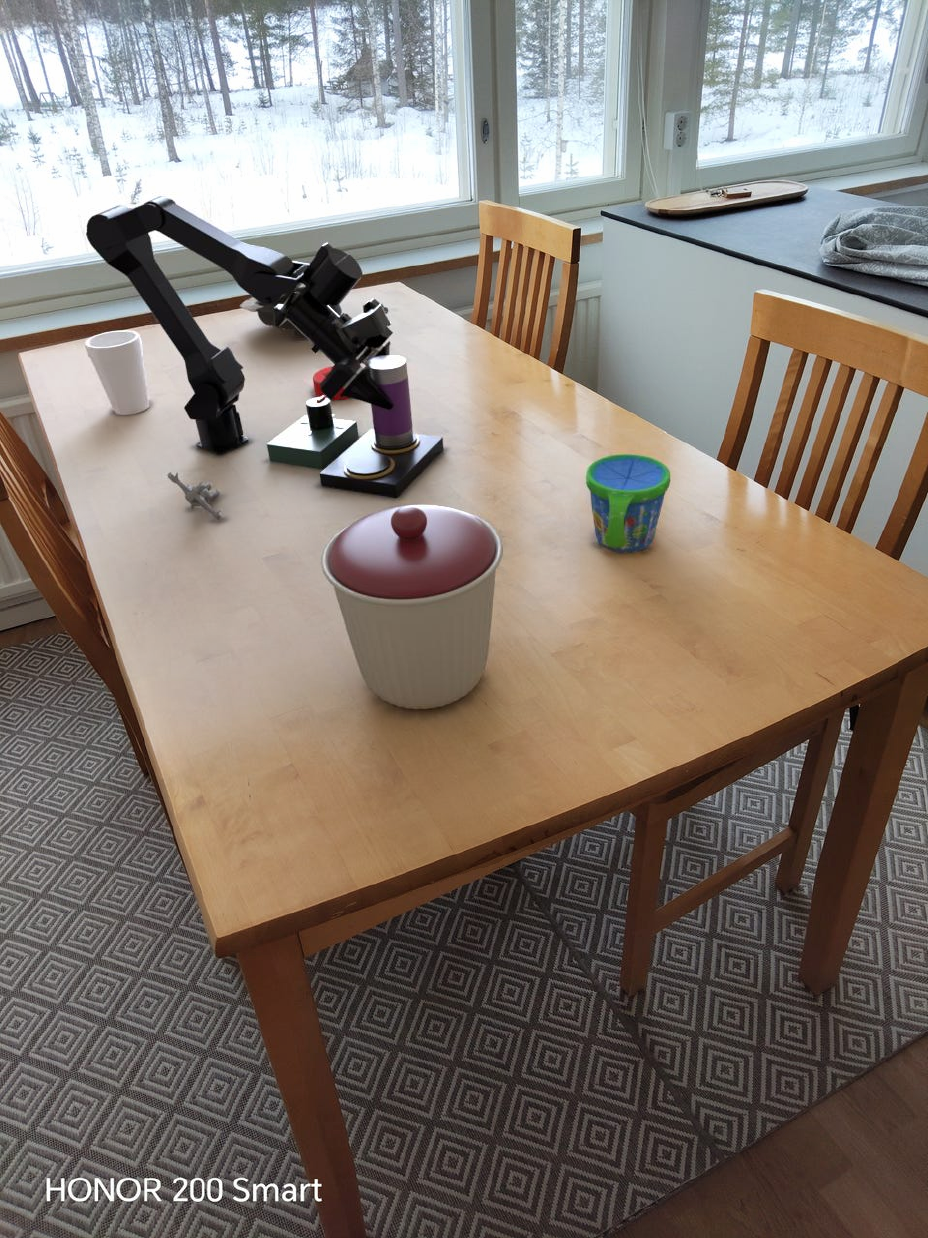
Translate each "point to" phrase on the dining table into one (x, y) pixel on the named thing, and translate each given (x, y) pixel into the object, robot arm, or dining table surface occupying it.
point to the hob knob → (319, 413)
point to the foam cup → (120, 369)
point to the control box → (312, 443)
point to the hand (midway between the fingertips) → (398, 399)
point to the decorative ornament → (319, 377)
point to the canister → (416, 600)
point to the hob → (381, 465)
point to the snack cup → (626, 500)
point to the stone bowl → (268, 315)
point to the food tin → (394, 383)
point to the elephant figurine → (198, 494)
